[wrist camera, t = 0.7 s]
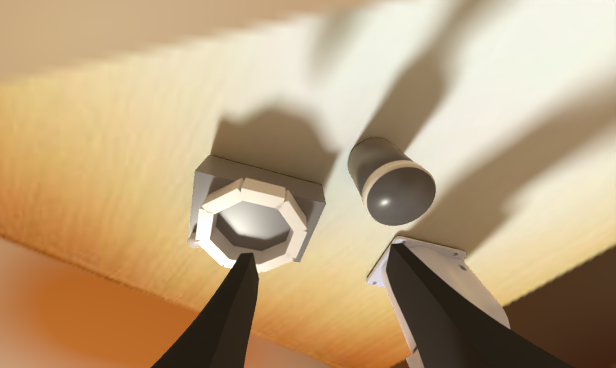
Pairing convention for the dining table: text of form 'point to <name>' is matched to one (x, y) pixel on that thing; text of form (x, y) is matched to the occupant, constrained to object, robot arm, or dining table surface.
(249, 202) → the octagonal ring base
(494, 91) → the dining table surface
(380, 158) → the lens
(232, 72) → the dining table surface
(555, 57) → the dining table surface
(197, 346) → the robot arm
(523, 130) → the dining table surface
